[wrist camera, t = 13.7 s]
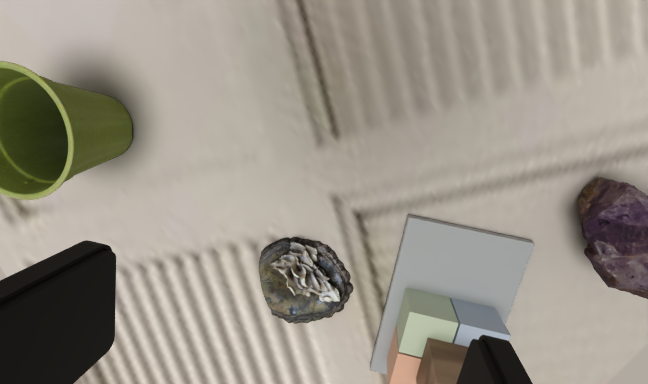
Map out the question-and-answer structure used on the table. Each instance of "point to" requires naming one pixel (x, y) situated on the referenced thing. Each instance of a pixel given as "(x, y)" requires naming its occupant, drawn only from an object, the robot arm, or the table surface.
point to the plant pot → (53, 132)
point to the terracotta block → (401, 364)
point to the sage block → (424, 321)
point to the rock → (616, 234)
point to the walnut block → (441, 362)
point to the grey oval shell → (303, 280)
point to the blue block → (477, 322)
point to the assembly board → (452, 271)
